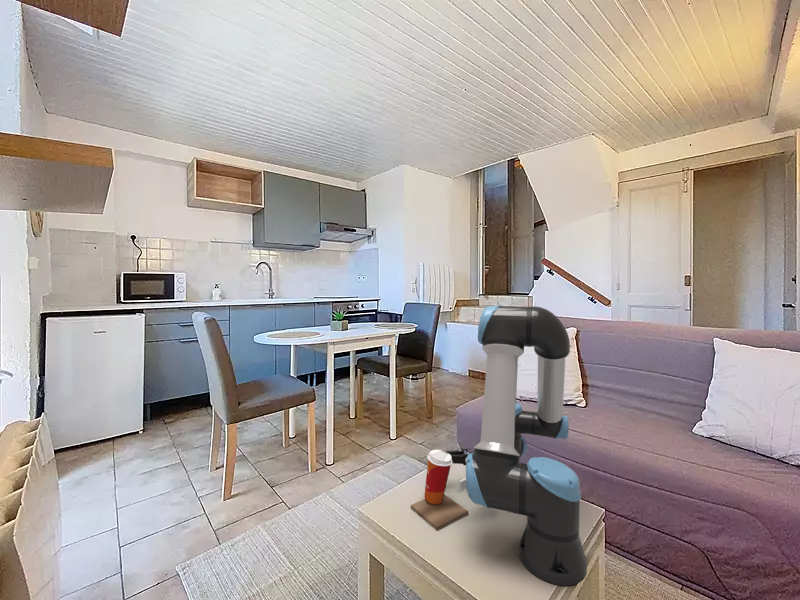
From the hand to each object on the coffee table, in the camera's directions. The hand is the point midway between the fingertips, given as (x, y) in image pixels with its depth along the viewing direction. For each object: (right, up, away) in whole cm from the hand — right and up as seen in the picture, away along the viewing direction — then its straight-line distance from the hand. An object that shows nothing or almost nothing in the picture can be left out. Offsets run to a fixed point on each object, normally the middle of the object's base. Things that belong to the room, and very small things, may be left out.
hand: (443, 475), depth 107 cm
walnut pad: (-1, -10, -1) cm, 10 cm away
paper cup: (-3, -9, +3) cm, 10 cm away
